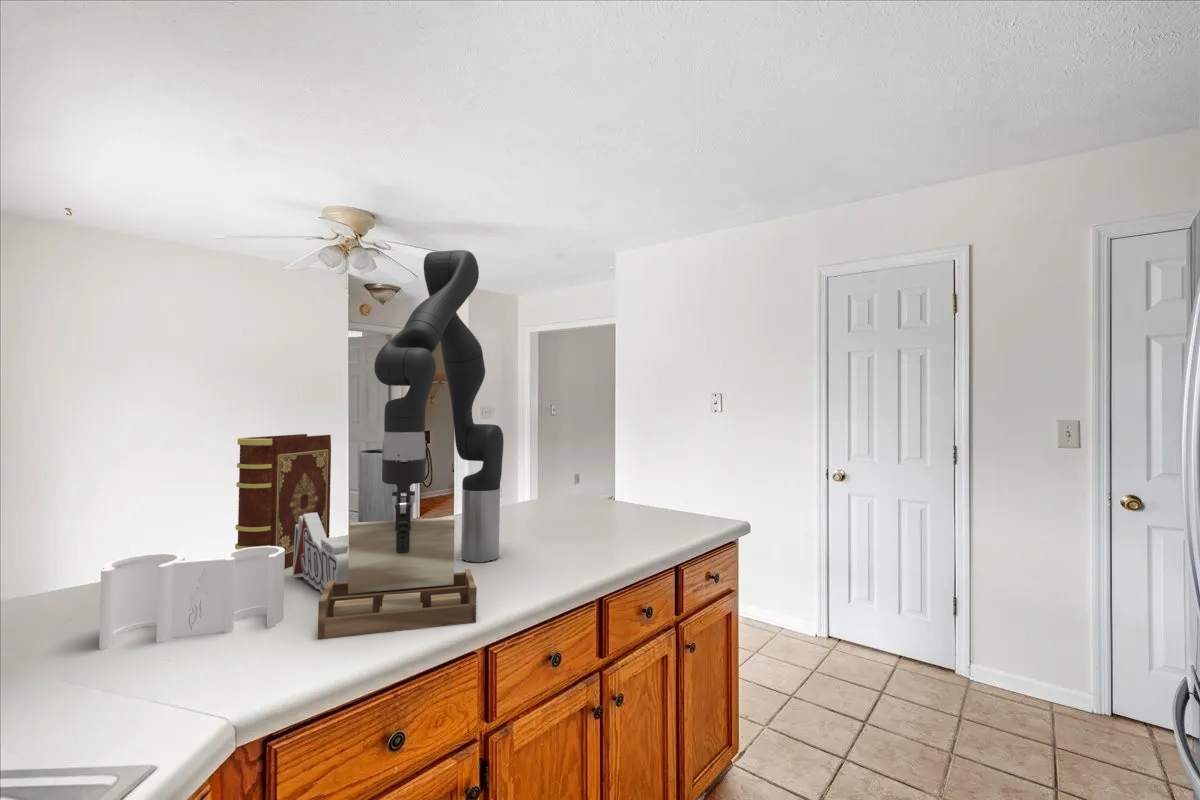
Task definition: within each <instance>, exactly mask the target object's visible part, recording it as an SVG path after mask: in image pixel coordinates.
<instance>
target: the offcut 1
mask: <svg viewBox="0 0 1200 800" xmlns="http://www.w3.org/2000/svg"><path fill="white" fill-rule="evenodd" d="M373 605H374V598H364V599H353V600H343V601H335V604H334V607H333V617H337V616H347V615H358V614H368V613H373Z"/></svg>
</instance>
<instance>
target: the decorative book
mask: <svg viewBox="0 0 1200 800" xmlns="http://www.w3.org/2000/svg"><path fill="white" fill-rule="evenodd" d="M331 437H332V436H331V434H322V435H321V434H320V435H319V434H318V435H308V433H301V434H300V433H299V434H298V433H297V434H284V435H270V436H269V435H268V436H253V437H252V436H251V437H250V436H249V437H238V438H237V445H239V462H238V463H237V462H236V468H237V469H238V470H239V473H238V475H239V477H238V482H236V487H237V488H238V512H237V515H238V516H237V517H238V518H237V524H236V525H235V530H236V531H237V543H235V544H234V549H235V550H238V549H243V548H249V547H258V546H278V547H282V548H284V549H285V565H284V569H286V568H289V567H291V566H292V567H293V558H294V538H295V525H296V524H298V521H299V516H303V514H307V513H316V512H317V513H318V516H319V518H320V521H321V523H322V526H323V529H324V531H325V534H326V536H327V538H330V525H331V524H330V522H331V520H330V517H331V515H330V514H331V477H332V475H331V474H332V473H331V472H332V471H331V470H332V469H331V466H332V465H331V464H332V438H331Z"/></svg>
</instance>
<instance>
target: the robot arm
mask: <svg viewBox="0 0 1200 800" xmlns="http://www.w3.org/2000/svg"><path fill="white" fill-rule="evenodd" d="M479 273H480V272H479V264H478V260H477V258H476V257H475V255H474V253H472V252H471V251H469V250H466V249H465V250H463V249H455V250H445V251H443V250H439V251H431V252H428V253H427V254H425V257H424V260H423V274H424V281H425V285H426V289H427V293H428V296H429V297H427V298H426V299H425V300H424V301H422V302H420V304H419V305H418V306H416V307H415V309H414V310H413V311H412V312H411V314H410V316H409V318H408V319H407V321H406V323H405V325H404V327H403V328H402V330H400V331H399V332H398V333H396V334H395V335H394V336H393V337H392V338H391V339H389V341H387V342H386V343H385V344H384V345H383V346H382V348H381V349H380V350H379V351H378V352H377V355H376V357H375V359H374V367H373V368H374V374H375V376H376V378H377V380H378V381H379V382H380V383H381V384H384V385H386V386H391V387H393V386H397V387H398V386H399V387H401V386H402V387H403V386H405V387H406V386H407V387H409V388H408V390H407V392H406V394H405V395H404V396H403V397H402V396H401V397H399V398H394V399H390V400H389V401H387V402H386V403H385V405H384V420H383V421H384V425H383V428H384V429H383V430H384V432H383V440H382V481H383V482H384V483H386V484H395V485H396V486H397V492H393V494H392V503H393V519H394V520H396V527H395V531H396V533H397V536H396V552H397V553H398V554H404V553H408V552H409V532H410V530H411V526H410V520H413V518H414V504H415V503H416V491H415V490H411V486H412V485H414V484H415V485H416V484H422V483H424V482H425V481H426V466H427V465H426V463H427V462H426V461H427V458H426V457H427V453H426V452H427V442H426V435H425V434H426V433H425V430H426V429H425V428H426V427H425V426H426V425H425V424H426V408H427V407H426V406H427V404H428V399H429V395H430V392H431V388H432V385H433V383H434V379H435V375H436V371H437V370H436V369H437V365H436V359H435V357H434V355H433V352H434V351H435V350H436V349H437V348H438V345H439V343H440V348H441V355H442V360H443V366H444V372H445V375H446V376H445V377H446V381H447V386H448V390H449V397H450V403H451V409H452V420H453V431H454V441H455V447H456V451H457V454H458V455H459V457H460V458H461V459H462V460H463V461H470V462H471V461H473V462H482V467H481V469H479V471H477V472H475V473H472V474H468V475H466V476H464V477H463V478H462V481H461V482H462V484H461V486H462V487H461V488H462V489H461V493H462V495H461V544H460V546H461V547H460V548H461V549H460V558H462V559H464V560H466V561H465V562H468V561H473V562H472V563H485V562H484V561H487V562H491V561H490V560H492V561H495V560H497V559H499V557H500V521H501V520H500V516H501V515H500V512H501V511H500V510H501V482H502V481H501V480H502V473H503V457H504V433H503V430H502V427H501V426H499V425H497V424H490V423H489V424H484V423H474V419H473V406H474V403H475V399H476V397H477V395H478V393H479V391H480V389H481V386H483V385H482V384H483V382H484V379H485V377H486V366H485V365H486V364H485V361H484V359H485V358H484V354H483V353H484V352H483V348H482V345H481V343H480V342H479V340H478V339H477V337H476V336H475V334H474V333H473V332H472V331H471V330H470V329H469V327H468V326H467V325H466V324H465V323H464V321H463V320H462V319H461V318H460V316H459V314H458V313H457V312H458V310H459V309H460V308H461V307H462V305H463V304H464V303H465V302H466V301H467V299H468V298H469V297H470V295H471V294H473V291H474V290H475V288H476V287H477V284H478V281H479V279H480V278H479V277H480V275H479ZM403 521H407V522H408V525H407V524H399V522H403ZM496 558H497V559H496ZM462 559H461V560H462ZM494 559H495V560H494ZM464 560H463V561H464ZM482 561H483V562H482Z"/></svg>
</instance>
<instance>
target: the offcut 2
mask: <svg viewBox="0 0 1200 800" xmlns="http://www.w3.org/2000/svg"><path fill="white" fill-rule="evenodd" d="M450 605H461V597H460V593H452V594H441V595H431V607H440V606H450Z"/></svg>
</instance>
